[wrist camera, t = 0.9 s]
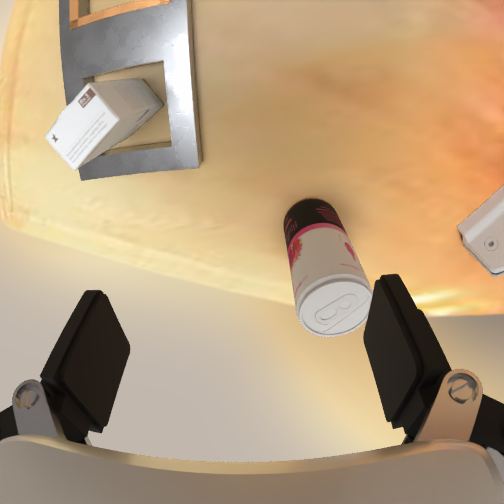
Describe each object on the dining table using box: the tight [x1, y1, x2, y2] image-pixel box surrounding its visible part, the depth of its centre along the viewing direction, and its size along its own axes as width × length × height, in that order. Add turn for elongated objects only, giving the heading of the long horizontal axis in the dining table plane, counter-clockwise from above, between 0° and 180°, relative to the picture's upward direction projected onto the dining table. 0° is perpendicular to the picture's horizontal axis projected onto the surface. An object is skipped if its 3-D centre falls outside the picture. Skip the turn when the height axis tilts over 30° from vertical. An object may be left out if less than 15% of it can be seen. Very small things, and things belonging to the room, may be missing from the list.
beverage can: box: [284, 199, 373, 337], centre depth 31 cm, size 6×7×15 cm
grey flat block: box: [59, 0, 203, 181], centre depth 24 cm, size 30×14×3 cm, turn 2°
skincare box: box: [45, 78, 164, 171], centre depth 24 cm, size 6×4×12 cm
